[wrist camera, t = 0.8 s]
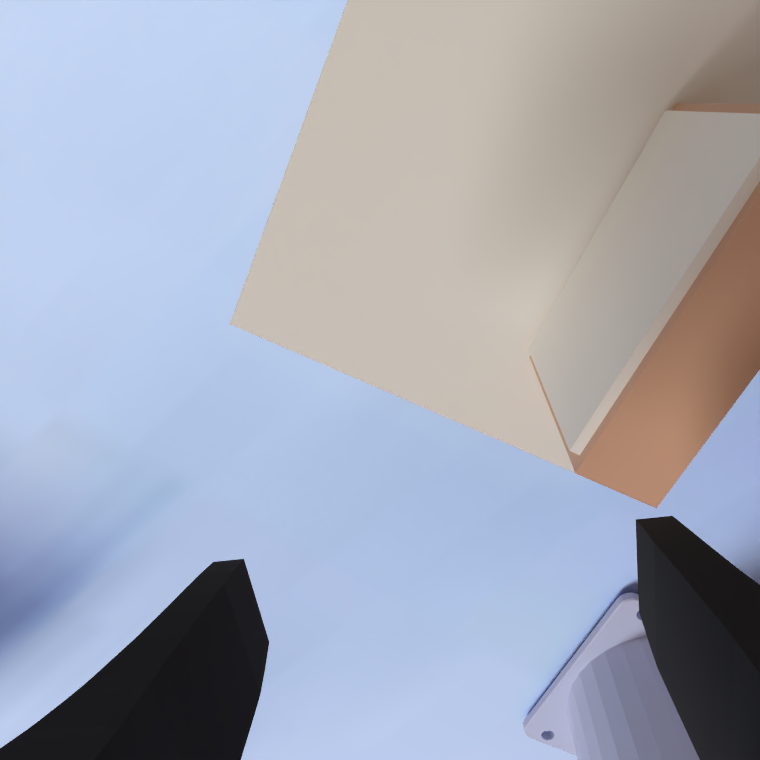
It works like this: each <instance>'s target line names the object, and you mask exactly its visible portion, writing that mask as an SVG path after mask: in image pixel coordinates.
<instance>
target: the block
mask: <svg viewBox="0 0 760 760" xmlns="http://www.w3.org/2000/svg"><path fill="white" fill-rule="evenodd" d="M528 350H529V352H530V357H529V358H530V360H531V363H532V365H533V368H534V370H535V373H536V375H537V378H538V380H539V383H540V385H541V388H542V390H543V393H544V395H545V398H546V401H547V403H548V406H549V408H550V411H551V413H552V416H553V418H554V421H555V423H556V426H557V428H558V431H559V433H560V436H561V438H562V441H563V443H564V446H565V448H566V451H567V453H568V456H569V458H570V461H571V464H572V466H573V469H574V471H575V473H576V474H578V475H581V476H583V477H585V478H587V479H590V480H592V481H594V482H597V483H599V484H601V485H604V486H606V487H608V488H611V489H613V490H615V491H618V492H620V493H622V494H625V495H627V496H629V497H632V498H634V499H636V500H638V501H641V502H643V503H645V504H648V505H650V506H652V507H655V508H657V507H658V505H659V504H660V503H661V501H662V500H663V499H664V497H665V496H666V495H667V493H668V492H669V491H670V489H671V488H672V487H673V485H674V484H675V483H676V481H677V480H678V478H679V477H680V476H681V474H682V473H683V472H684V470H685V469H686V468H687V466H688V465H689V464H690V462H691V461H692V460H693V458H694V457H695V456H696V454H697V453H698V452H699V450H700V449H701V447H702V446H703V445H704V443H705V442H706V441H707V439H708V438H709V437H710V435H711V434H712V433H713V431H714V430H715V429H716V427H717V426H718V425H719V423H720V422H721V421H722V419H723V418H724V417H725V415H726V414H727V412H728V411H729V410H730V408H731V407H732V406H733V404H734V403H735V402H736V400H737V399H738V398H739V396H740V395H741V394H742V392H743V391H744V390H745V388H746V387H747V386H748V384H749V383H750V382H751V380H752V379H753V377H754V376H755V375H756V373H757V372H758V371H759V369H760V104H727V103H676V104H675V106H674V108H673V110H672V111H665V112H664V114H663V115H662V117H661V119H660V121H659V122H658V124H657V126H656V128H655V129H654V131H653V133H652V134H651V136H650V138H649V140H648V141H647V143H646V145H645V147H644V148H643V150H642V152H641V154H640V155H639V157H638V159H637V161H636V162H635V164H634V166H633V168H632V169H631V171H630V173H629V175H628V176H627V178H626V180H625V181H624V183H623V185H622V187H621V188H620V190H619V192H618V194H617V195H616V197H615V199H614V201H613V202H612V204H611V206H610V208H609V209H608V211H607V213H606V215H605V216H604V218H603V220H602V222H601V223H600V225H599V227H598V228H597V230H596V232H595V234H594V235H593V237H592V239H591V241H590V242H589V244H588V246H587V248H586V249H585V251H584V253H583V255H582V256H581V258H580V260H579V262H578V263H577V265H576V267H575V269H574V270H573V272H572V274H571V276H570V277H569V279H568V281H567V282H566V284H565V286H564V288H563V289H562V291H561V293H560V295H559V296H558V298H557V300H556V302H555V303H554V305H553V307H552V309H551V310H550V312H549V314H548V316H547V317H546V319H545V321H544V323H543V324H542V326H541V328H540V329H539V331H538V333H537V335H536V336H535V338H534V340H533V342H532V343H531V345H530V347H529V349H528Z"/></svg>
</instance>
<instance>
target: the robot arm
mask: <svg viewBox="0 0 760 760" xmlns="http://www.w3.org/2000/svg"><path fill="white" fill-rule="evenodd" d="M636 537H637V566H638V594H636V593H625V594H622V595H621V596H619V597H618V598H617V599H616V601H615V602H614V603H613V605H612V606H611V607H610V609H609V610H608V611H607V613H606V614H605V615H604V616H603V618H602V619H601V620H600V622H599V623H598V624H597V626H596V627H595V628H594V630H593V631H592V632H591V633H590V635H589V636H588V637H587V639H586V640H585V641H584V643H583V644H582V645H581V646H580V648H579V649H578V650H577V652H576V653H575V654H574V656H573V657H572V658H571V660H570V661H569V662H568V663H567V665H566V666H565V667H564V669H563V670H562V671H561V673H560V674H559V675H558V677H557V678H556V679H555V680H554V682H553V683H552V684H551V686H550V687H549V688H548V690H547V691H546V692H545V694H544V695H543V696H542V697H541V699H540V700H539V701H538V703H537V704H536V705H535V707H534V708H533V709H532V710H531V712H530V713H529V714H528V716H527V717H526V718H525V720H524V722H523V725H524V732H525V734H526V735H527V736H528V737H530V738H532V739H535V740H538V741H540V742H543V743H545V744H548V745H551V746H553V747H556V748H558V749H561V750H564V751H566V752H569V753H572V754H574V755H577V758H578V760H760V585H759V584H758V583H756V582H755V581H754V580H752V579H751V578H750V577H748V576H747V575H746V574H744V573H743V572H742V571H740V570H739V569H738V568H736V567H735V566H734V565H733V564H731V563H730V562H729V561H728V560H726V559H725V558H724V557H723V556H721V555H720V554H719V553H718V552H716V551H715V550H714V549H712V548H711V547H710V546H709V545H708V544H706V543H705V542H704V541H703V540H701V539H700V538H699V537H698V536H697V535H695V534H694V533H693V532H692V531H690V530H689V529H688V528H687V527H685V526H684V525H683V524H682V523H680V522H679V521H678V520H677V519H675V518H674V517H673V516H668V517H658V518H648V519H638V520H636ZM638 612H639V613H638ZM268 646H269V640H268V637H267V634H266V631H265V627H264V624H263V621H262V617H261V614H260V611H259V608H258V604H257V601H256V598H255V594H254V591H253V588H252V585H251V581H250V578H249V575H248V571H247V568H246V565H245V562H244V559H239V560H229V561H219V562H213V563H212V564H211V565H210V566H209V567H207V568H206V569H205V570H204V571H203V572H202V573H201V574H200V575H199V576H198V577H197V578H196V579H195V580H194V581H193V582H192V583H191V584H190V585H189V586H188V587H187V588H186V589H185V590H184V591H183V592H182V593H181V594H180V595H179V596H178V597H177V598H176V599H175V600H174V601H173V602H172V603H171V604H170V605H169V606H168V607H167V608H166V609H165V610H164V611H163V612H162V613H161V614H160V615H159V616H158V617H157V618H156V619H155V620H154V621H153V622H152V623H151V624H150V625H149V626H148V627H147V628H146V629H144V630H143V631H142V632H141V633H140V634H139V635H138V636H137V637H136V638H135V639H134V640H133V641H132V642H131V643H130V644H129V645H128V646H127V647H125V648H124V649H123V650H122V651H121V652H120V653H119V654H118V655H117V656H116V657H114V658H113V659H112V660H111V661H110V662H109V663H108V664H107V665H106V666H105V667H103V668H102V669H101V670H100V671H99V672H98V673H97V674H96V675H95V676H94V677H93V678H91V679H90V680H89V681H88V682H87V683H86V684H84V685H83V686H82V687H81V688H80V689H78V690H77V691H76V692H75V693H74V694H72V695H71V696H70V697H69V698H68V699H66V700H65V701H64V702H63V703H61V704H60V705H59V706H57V707H56V708H55V709H54V710H52V711H51V712H50V713H48V714H47V715H46V716H45V717H43V718H42V719H41V720H40V721H38V722H37V723H36V724H34V725H33V726H32V727H30V728H29V729H28V730H26V731H25V732H23V733H22V734H20V735H19V736H18V737H16V738H15V739H13V740H12V741H10V742H9V743H8V744H6V745H5V746H3V747H2V748H0V760H241V757H242V753H243V750H244V747H245V744H246V740H247V737H248V734H249V731H250V727H251V724H252V721H253V717H254V714H255V711H256V707H257V704H258V700H259V697H260V693H261V687H262V682H263V676H264V671H265V665H266V658H267V652H268Z"/></svg>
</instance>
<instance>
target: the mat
mask: <svg viewBox="0 0 760 760" xmlns="http://www.w3.org/2000/svg"><path fill="white" fill-rule="evenodd" d="M676 103H727V104H760V0H348V1H347V4H346V7H345V10H344V12H343V15H342V18H341V20H340V23H339V26H338V29H337V31H336V34H335V37H334V40H333V42H332V45H331V48H330V51H329V53H328V56H327V59H326V62H325V64H324V67H323V70H322V73H321V75H320V78H319V81H318V84H317V86H316V89H315V92H314V95H313V97H312V100H311V103H310V106H309V108H308V111H307V114H306V117H305V119H304V122H303V125H302V128H301V130H300V133H299V136H298V139H297V141H296V144H295V147H294V150H293V152H292V155H291V158H290V161H289V163H288V166H287V169H286V171H285V174H284V177H283V180H282V182H281V185H280V188H279V191H278V193H277V196H276V199H275V202H274V204H273V207H272V210H271V213H270V215H269V218H268V221H267V224H266V226H265V229H264V232H263V235H262V237H261V240H260V243H259V246H258V248H257V251H256V254H255V257H254V259H253V262H252V265H251V268H250V270H249V273H248V276H247V279H246V281H245V284H244V287H243V290H242V292H241V295H240V298H239V301H238V303H237V306H236V309H235V312H234V314H233V317H232V320H231V322H230V324H231V325H234V326H236V327H238V328H241V329H243V330H245V331H248V332H250V333H252V334H254V335H257V336H259V337H261V338H264V339H266V340H268V341H271V342H273V343H275V344H278V345H280V346H282V347H285V348H287V349H289V350H292V351H294V352H296V353H299V354H301V355H303V356H305V357H308V358H310V359H312V360H315V361H317V362H319V363H322V364H324V365H326V366H329V367H331V368H333V369H336V370H338V371H340V372H343V373H345V374H347V375H349V376H352V377H354V378H356V379H359V380H361V381H363V382H366V383H368V384H370V385H373V386H375V387H377V388H380V389H382V390H384V391H387V392H389V393H391V394H394V395H396V396H398V397H400V398H403V399H405V400H407V401H410V402H412V403H414V404H417V405H419V406H421V407H424V408H426V409H428V410H431V411H433V412H435V413H438V414H440V415H442V416H444V417H447V418H449V419H451V420H454V421H456V422H458V423H461V424H463V425H465V426H468V427H470V428H472V429H475V430H477V431H479V432H482V433H484V434H486V435H489V436H491V437H493V438H495V439H498V440H500V441H502V442H505V443H507V444H509V445H512V446H514V447H516V448H519V449H521V450H523V451H526V452H528V453H530V454H533V455H535V456H537V457H539V458H542V459H544V460H546V461H549V462H551V463H553V464H556V465H558V466H560V467H563V468H565V469H567V470H570V471H572V472H574V473H575V471H574V469H573V466H572V464H571V461H570V458H569V456H568V453H567V451H566V448H565V446H564V443H563V441H562V438H561V436H560V433H559V431H558V428H557V426H556V423H555V421H554V418H553V416H552V413H551V411H550V408H549V406H548V403H547V401H546V398H545V395H544V393H543V390H542V388H541V385H540V383H539V380H538V378H537V375H536V373H535V370H534V368H533V365H532V363H531V360H530V358H529V357H530V352H529V350H528V349H529V347H530V345H531V343H532V342H533V340H534V338H535V336H536V335H537V333H538V331H539V329H540V328H541V326H542V324H543V323H544V321H545V319H546V317H547V316H548V314H549V312H550V310H551V309H552V307H553V305H554V303H555V302H556V300H557V298H558V296H559V295H560V293H561V291H562V289H563V288H564V286H565V284H566V282H567V281H568V279H569V277H570V276H571V274H572V272H573V270H574V269H575V267H576V265H577V263H578V262H579V260H580V258H581V256H582V255H583V253H584V251H585V249H586V248H587V246H588V244H589V242H590V241H591V239H592V237H593V235H594V234H595V232H596V230H597V228H598V227H599V225H600V223H601V222H602V220H603V218H604V216H605V215H606V213H607V211H608V209H609V208H610V206H611V204H612V202H613V201H614V199H615V197H616V195H617V194H618V192H619V190H620V188H621V187H622V185H623V183H624V181H625V180H626V178H627V176H628V175H629V173H630V171H631V169H632V168H633V166H634V164H635V162H636V161H637V159H638V157H639V155H640V154H641V152H642V150H643V148H644V147H645V145H646V143H647V141H648V140H649V138H650V136H651V134H652V133H653V131H654V129H655V128H656V126H657V124H658V122H659V121H660V119H661V117H662V115H663V114H664V112H665V111H672V110H673V108H674V106H675V104H676Z"/></svg>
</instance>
